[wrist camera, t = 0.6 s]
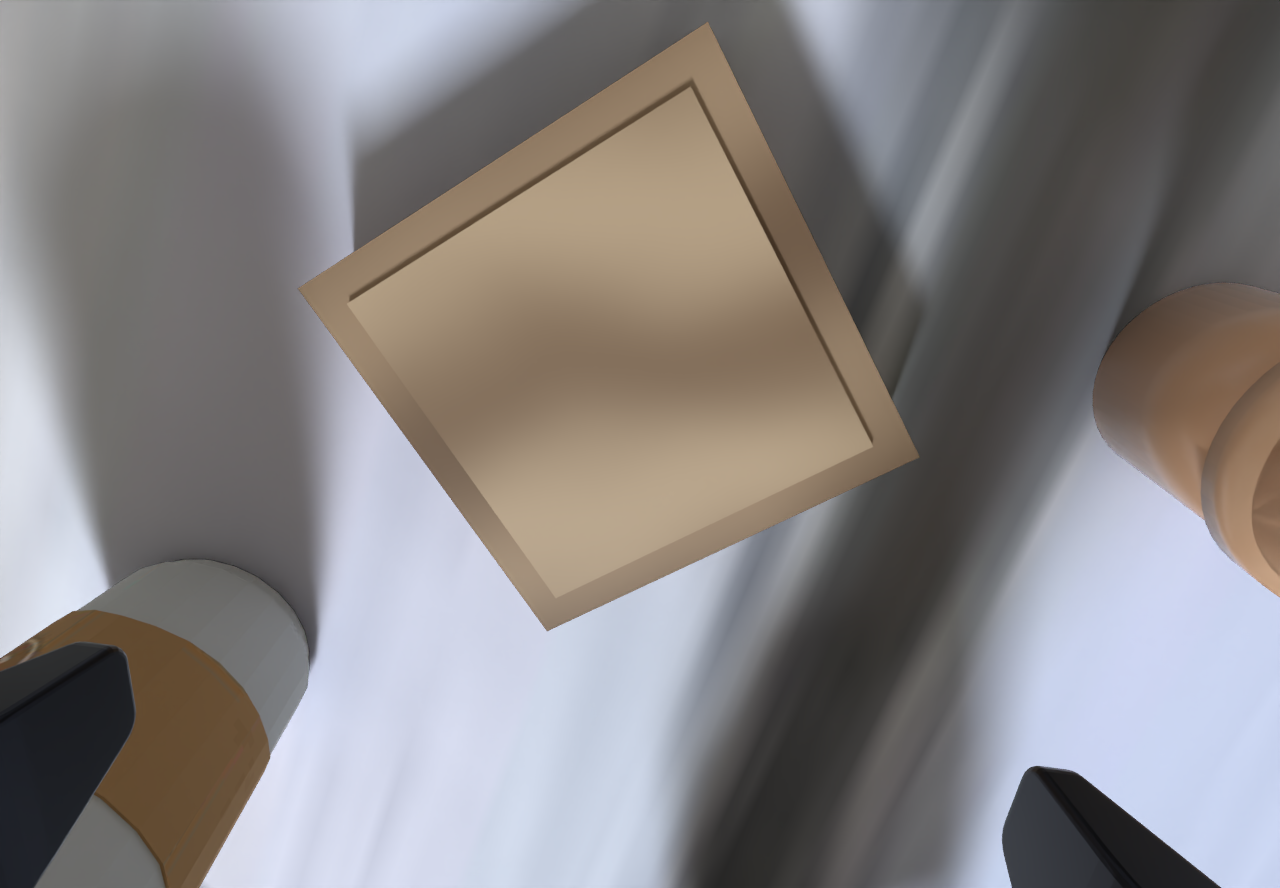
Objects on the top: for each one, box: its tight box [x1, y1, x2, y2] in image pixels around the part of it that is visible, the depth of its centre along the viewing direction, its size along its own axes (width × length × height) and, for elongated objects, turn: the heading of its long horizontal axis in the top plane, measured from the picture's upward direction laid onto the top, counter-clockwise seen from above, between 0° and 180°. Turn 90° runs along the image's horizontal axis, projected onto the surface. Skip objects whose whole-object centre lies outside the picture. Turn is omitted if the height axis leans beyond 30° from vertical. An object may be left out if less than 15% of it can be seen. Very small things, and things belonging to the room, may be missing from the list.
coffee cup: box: [0, 559, 309, 888], centre depth 17 cm, size 8×8×15 cm
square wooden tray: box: [298, 22, 920, 631], centre depth 18 cm, size 10×10×3 cm
